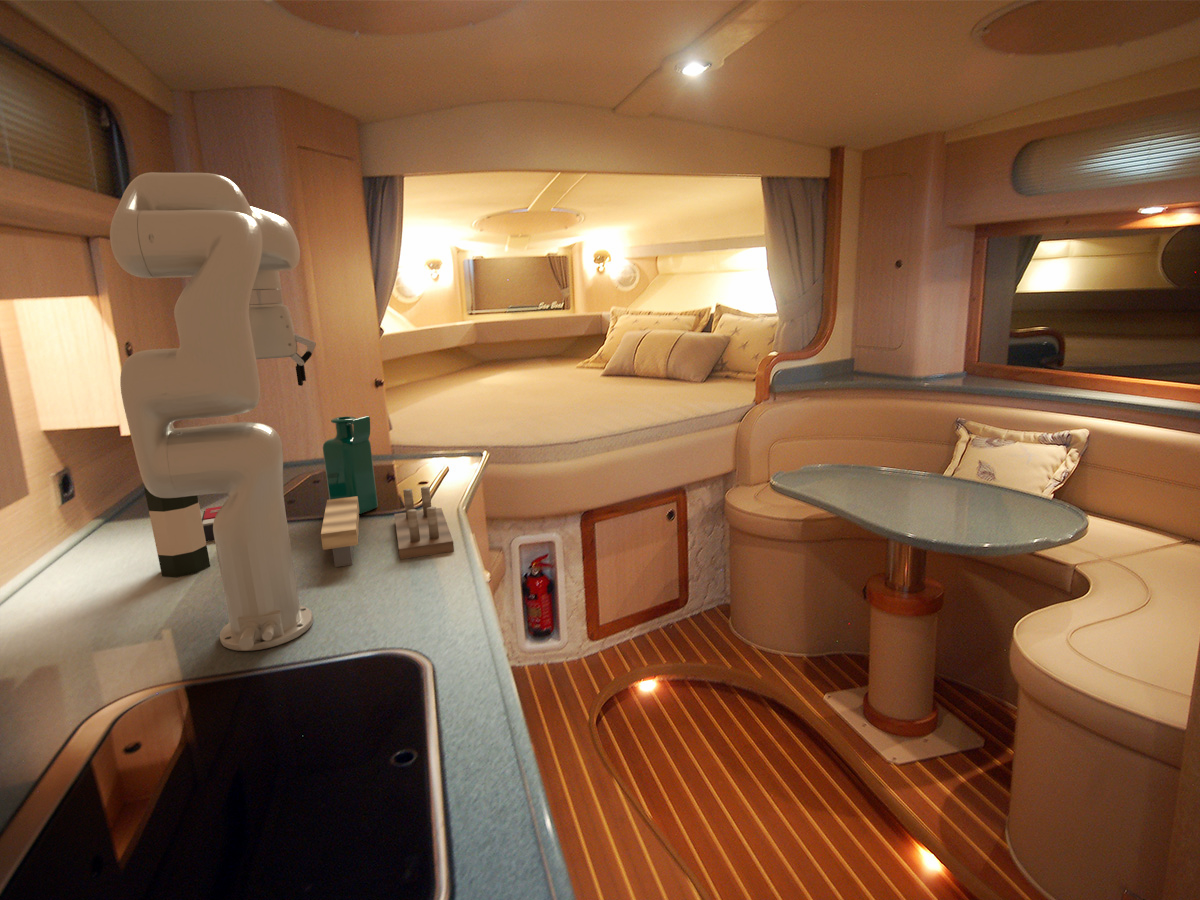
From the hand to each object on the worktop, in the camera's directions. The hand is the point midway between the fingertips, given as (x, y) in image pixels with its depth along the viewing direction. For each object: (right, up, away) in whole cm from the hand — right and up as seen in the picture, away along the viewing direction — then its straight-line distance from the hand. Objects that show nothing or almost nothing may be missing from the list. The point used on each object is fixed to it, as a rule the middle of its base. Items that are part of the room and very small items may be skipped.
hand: (274, 386), depth 136 cm
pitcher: (+9, -27, +21) cm, 35 cm away
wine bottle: (-12, -35, -9) cm, 38 cm away
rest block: (+15, -32, -2) cm, 35 cm away
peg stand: (+29, -30, +3) cm, 42 cm away
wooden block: (+15, -28, -3) cm, 32 cm away
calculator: (-16, -30, +13) cm, 36 cm away
